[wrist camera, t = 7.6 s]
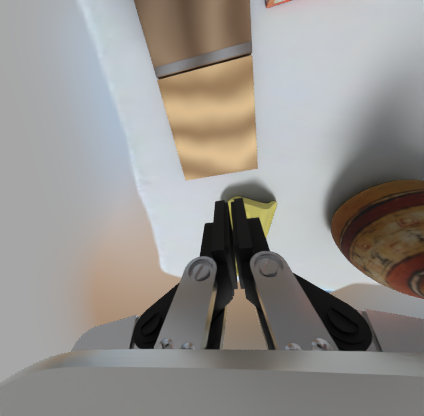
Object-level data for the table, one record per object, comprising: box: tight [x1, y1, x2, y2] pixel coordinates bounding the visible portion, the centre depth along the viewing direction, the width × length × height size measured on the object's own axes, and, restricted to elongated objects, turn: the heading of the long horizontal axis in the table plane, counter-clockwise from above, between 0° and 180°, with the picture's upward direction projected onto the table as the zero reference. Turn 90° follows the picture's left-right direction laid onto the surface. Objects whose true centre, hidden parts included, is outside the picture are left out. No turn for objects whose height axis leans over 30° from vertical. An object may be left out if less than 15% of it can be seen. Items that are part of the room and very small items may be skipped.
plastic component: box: [228, 196, 277, 276], centre depth 39 cm, size 20×7×10 cm
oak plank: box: [157, 55, 258, 180], centre depth 27 cm, size 16×14×2 cm
